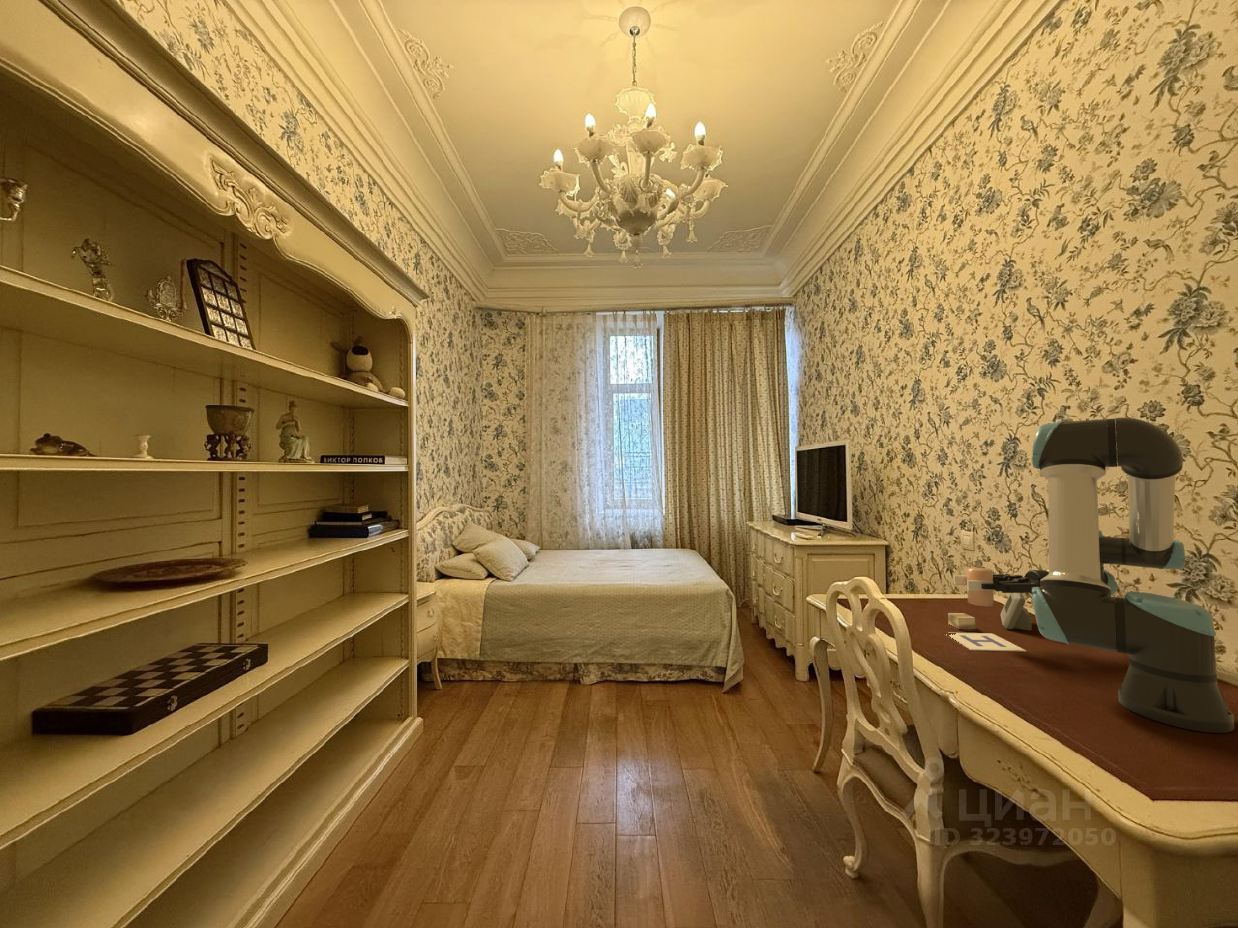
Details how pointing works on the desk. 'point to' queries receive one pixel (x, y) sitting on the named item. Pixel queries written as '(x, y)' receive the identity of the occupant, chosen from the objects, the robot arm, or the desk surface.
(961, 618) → the ash block
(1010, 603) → the digital clock
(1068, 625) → the robot arm
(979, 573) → the terracotta canister
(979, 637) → the letter card
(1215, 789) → the desk surface
